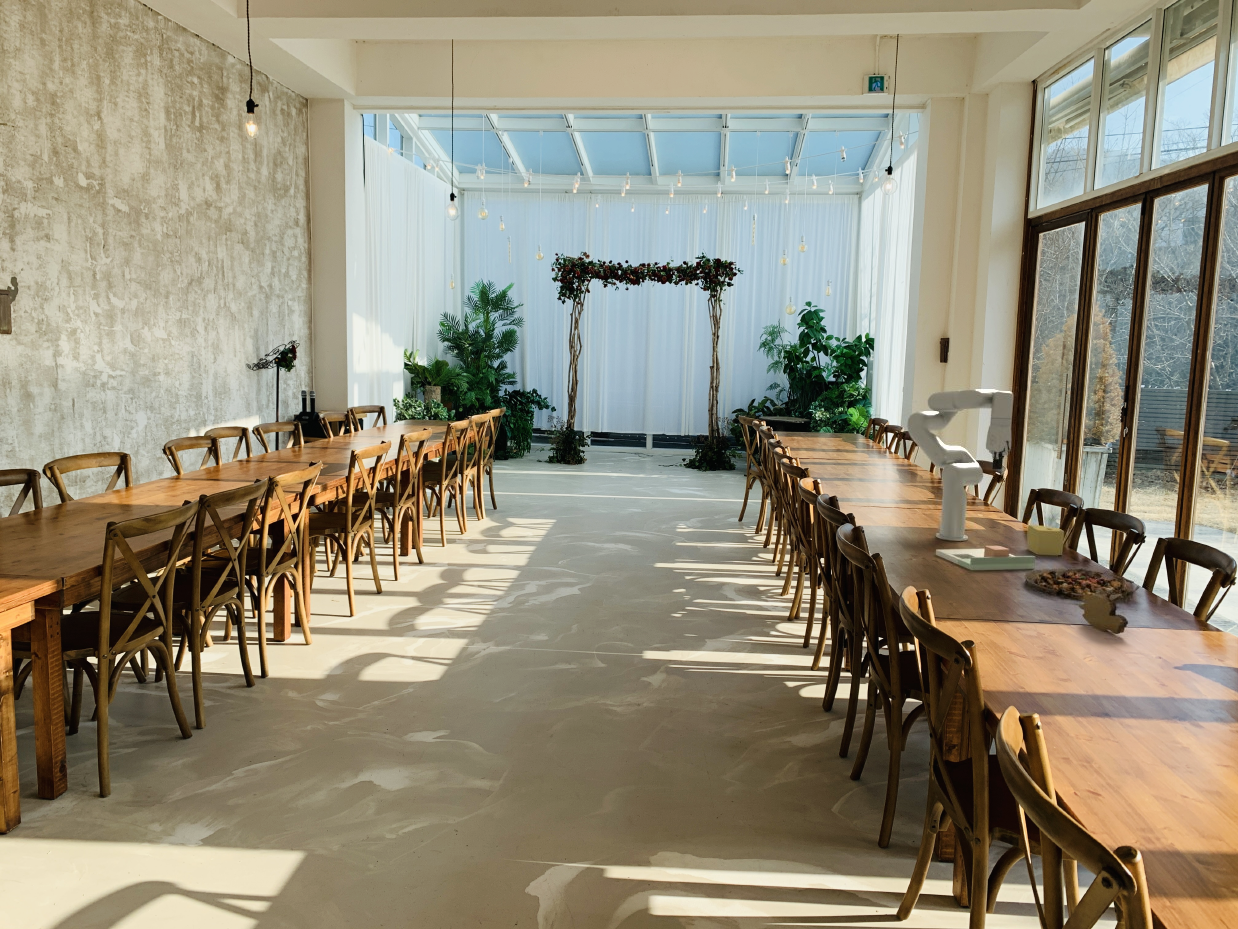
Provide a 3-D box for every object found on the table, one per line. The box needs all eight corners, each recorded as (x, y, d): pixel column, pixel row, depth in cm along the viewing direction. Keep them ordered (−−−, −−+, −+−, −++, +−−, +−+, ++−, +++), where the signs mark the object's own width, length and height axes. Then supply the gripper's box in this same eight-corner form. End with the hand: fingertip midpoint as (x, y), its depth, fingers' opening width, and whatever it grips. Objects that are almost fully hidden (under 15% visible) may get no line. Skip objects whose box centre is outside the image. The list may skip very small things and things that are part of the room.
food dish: (1153, 613, 271) (1156, 588, 270) (1038, 606, 278) (1040, 582, 277) (1114, 580, 305) (1116, 558, 304) (1012, 575, 312) (1014, 553, 311)
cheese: (1052, 550, 352) (1054, 525, 350) (1063, 556, 341) (1065, 531, 340) (1025, 549, 353) (1027, 524, 351) (1035, 555, 342) (1037, 530, 341)
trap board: (935, 554, 338) (936, 543, 338) (994, 553, 343) (995, 542, 342) (971, 570, 315) (972, 558, 314) (1034, 568, 319) (1035, 556, 319)
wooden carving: (1132, 638, 242) (1135, 603, 241) (1119, 639, 241) (1122, 603, 240) (1085, 620, 258) (1088, 587, 257) (1072, 621, 257) (1075, 588, 255)
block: (983, 559, 324) (984, 546, 323) (998, 559, 325) (999, 545, 324) (993, 563, 318) (994, 549, 317) (1008, 562, 319) (1009, 549, 318)
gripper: (981, 420, 351) (977, 466, 354) (1003, 424, 337) (999, 471, 339) (998, 421, 353) (994, 466, 355) (1021, 424, 338) (1017, 471, 341)
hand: (997, 468), depth 347 cm, fingers closed
